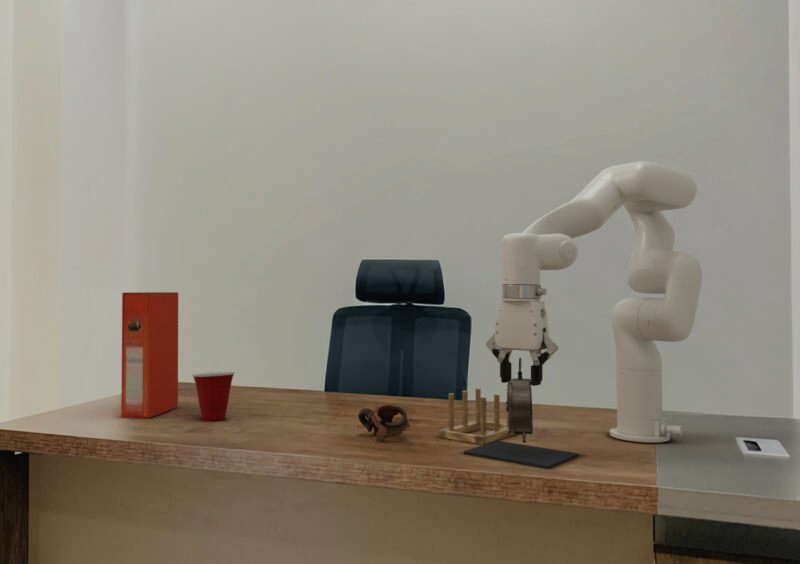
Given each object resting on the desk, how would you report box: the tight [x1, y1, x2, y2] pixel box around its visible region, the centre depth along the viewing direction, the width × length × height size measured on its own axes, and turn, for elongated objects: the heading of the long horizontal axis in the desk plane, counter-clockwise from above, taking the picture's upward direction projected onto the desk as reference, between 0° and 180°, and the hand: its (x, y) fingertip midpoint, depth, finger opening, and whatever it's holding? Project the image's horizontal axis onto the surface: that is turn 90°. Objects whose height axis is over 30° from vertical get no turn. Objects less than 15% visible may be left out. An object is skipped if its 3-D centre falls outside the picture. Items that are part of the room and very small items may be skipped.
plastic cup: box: [191, 371, 235, 422], centre depth 180 cm, size 11×11×12 cm
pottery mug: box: [357, 403, 410, 442], centre depth 159 cm, size 12×10×8 cm
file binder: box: [120, 291, 179, 419], centre depth 190 cm, size 8×17×32 cm, turn 168°
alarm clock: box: [505, 357, 534, 444], centre depth 143 cm, size 11×5×16 cm, turn 167°
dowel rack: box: [438, 387, 516, 445], centre depth 163 cm, size 11×18×10 cm, turn 139°
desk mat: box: [463, 440, 580, 470], centre depth 143 cm, size 18×14×1 cm
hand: (520, 382), depth 144 cm, fingers closed on alarm clock, 5 cm apart
